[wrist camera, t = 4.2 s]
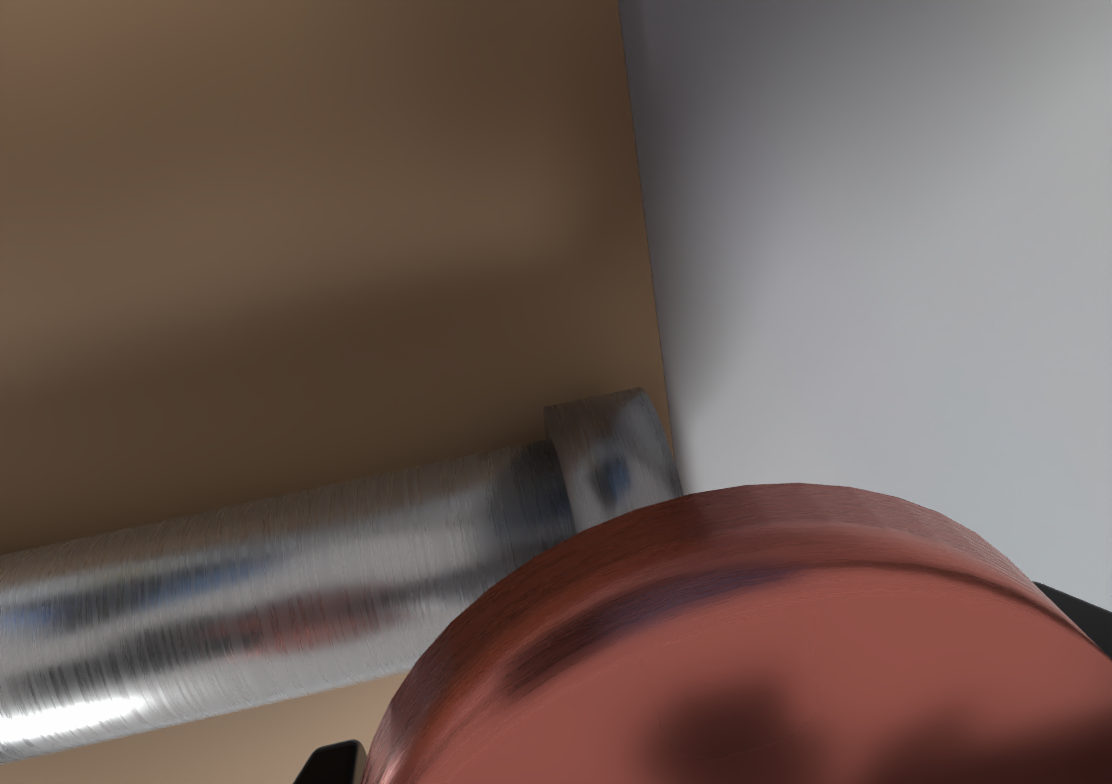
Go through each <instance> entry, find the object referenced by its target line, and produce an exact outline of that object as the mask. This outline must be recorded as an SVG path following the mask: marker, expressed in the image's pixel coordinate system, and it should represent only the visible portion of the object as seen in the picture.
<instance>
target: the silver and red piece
mask: <svg viewBox="0 0 1112 784" xmlns="http://www.w3.org/2000/svg"><path fill="white" fill-rule="evenodd" d="M543 413H544V423H545V431H546V438H547V439H545V440H540V441H536V442H531V443H526V444H521V445H517V446H512V447H507V448H503V449H498V450H493V451H489V452H484V453H479V454H474V455H470V456H465V457H460V458H456V459H451V460H446V461H442V462H437V463H432V464H427V465H423V466H418V467H413V468H409V469H404V470H399V471H395V472H390V473H385V474H381V475H376V476H371V477H366V478H362V479H357V480H352V481H348V482H343V483H338V484H334V485H329V486H324V487H319V488H315V489H310V490H305V491H301V492H296V493H291V494H287V495H282V496H277V497H272V498H268V499H263V500H258V501H254V502H249V503H244V504H240V505H235V506H230V507H225V508H221V509H216V510H211V511H207V512H202V513H197V514H193V515H188V516H183V517H178V518H174V519H169V520H164V521H160V522H155V523H150V524H146V525H141V526H136V527H131V528H127V529H122V530H117V531H113V532H108V533H103V534H99V535H94V536H89V537H84V538H80V539H75V540H70V541H66V542H61V543H56V544H52V545H47V546H42V547H37V548H33V549H28V550H23V551H19V552H14V553H9V554H5V555H0V765H4V764H9V763H13V762H17V761H22V760H26V759H31V758H35V757H39V756H44V755H48V754H53V753H57V752H61V751H66V750H70V749H75V748H79V747H83V746H88V745H92V744H97V743H101V742H105V741H110V740H114V739H119V738H123V737H127V736H132V735H136V734H141V733H145V732H149V731H154V730H158V729H163V728H167V727H171V726H176V725H180V724H185V723H189V722H193V721H198V720H202V719H207V718H211V717H215V716H220V715H224V714H229V713H233V712H237V711H242V710H246V709H251V708H255V707H259V706H264V705H268V704H273V703H277V702H281V701H286V700H290V699H295V698H299V697H303V696H308V695H312V694H317V693H321V692H325V691H330V690H334V689H339V688H343V687H347V686H352V685H356V684H361V683H365V682H369V681H374V680H378V679H383V678H387V677H391V676H396V675H400V674H405V673H409V674H408V675H407V677H406V678H405V680H404V681H403V683H402V684H401V686H400V687H399V689H398V690H397V692H396V693H395V695H394V696H393V698H392V699H391V701H390V703H389V705H388V707H387V709H386V712H385V714H384V716H383V718H382V720H381V722H380V724H379V726H378V729H377V731H376V733H375V735H374V737H373V739H372V742H371V746H370V749H369V752H368V756H367V759H366V763H365V766H364V770H363V773H362V776H361V781H360V784H1112V659H1111V658H1110V657H1109V656H1108V655H1107V654H1106V653H1105V652H1104V651H1103V650H1102V649H1101V648H1099V647H1098V646H1097V645H1096V644H1095V643H1094V642H1093V641H1092V640H1091V639H1090V638H1089V637H1088V636H1087V635H1086V634H1085V633H1084V632H1083V631H1082V630H1081V629H1080V628H1079V627H1078V626H1077V625H1076V624H1075V623H1074V622H1073V621H1072V620H1071V619H1070V618H1069V617H1068V616H1067V615H1066V614H1065V613H1064V612H1063V611H1061V610H1060V609H1059V608H1058V607H1057V606H1056V605H1055V604H1054V603H1053V602H1052V601H1051V600H1050V599H1049V598H1048V597H1047V596H1046V595H1045V594H1044V593H1043V592H1042V591H1041V590H1040V589H1039V588H1038V587H1037V586H1036V585H1035V584H1034V583H1033V582H1032V581H1031V580H1030V579H1029V578H1028V577H1027V576H1026V575H1025V574H1024V573H1022V572H1021V571H1020V570H1019V569H1018V568H1017V567H1016V566H1015V565H1014V564H1013V563H1012V562H1011V561H1010V560H1009V559H1008V558H1007V557H1006V556H1004V555H1003V554H1002V553H1001V552H999V551H998V550H997V549H996V548H994V547H993V546H992V545H991V544H989V543H988V542H987V541H986V540H984V539H983V538H982V537H981V536H979V535H978V534H977V533H975V532H973V531H971V530H970V529H968V528H966V527H964V526H962V525H961V524H959V523H957V522H955V521H953V520H952V519H950V518H948V517H946V516H944V515H943V514H941V513H939V512H936V511H933V510H931V509H928V508H925V507H922V506H920V505H917V504H914V503H912V502H909V501H906V500H904V499H901V498H898V497H894V496H889V495H885V494H880V493H875V492H871V491H866V490H861V489H857V488H852V487H843V486H831V485H819V484H806V483H785V484H762V485H744V486H737V487H731V488H725V489H719V490H712V491H706V492H700V493H694V494H689V495H685V496H684V495H683V492H682V488H681V484H680V480H679V476H678V473H677V470H676V466H675V463H674V459H673V456H672V453H671V450H670V447H669V444H668V441H667V438H666V435H665V432H664V429H663V427H662V424H661V422H660V419H659V416H658V414H657V412H656V410H655V407H654V405H653V403H652V402H651V400H650V398H649V396H648V395H647V393H646V392H645V391H644V390H643V389H642V388H641V387H636V388H631V389H627V390H622V391H617V392H612V393H608V394H603V395H598V396H593V397H589V398H584V399H579V400H574V401H570V402H565V403H560V404H555V405H550V406H546V407H544V409H543Z"/></svg>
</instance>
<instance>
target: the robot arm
mask: <svg viewBox="0 0 1112 784" xmlns="http://www.w3.org/2000/svg"><path fill="white" fill-rule="evenodd" d="M1032 582H1033V581H1032ZM1033 583H1034V584H1035V585H1036V586H1037V587H1038V588H1039V589H1040V590H1041V591H1042V592H1043V593H1044V594H1045V595H1046V596H1047V597H1048V598H1049V599H1050V600H1051V601H1052V602H1053V603H1054V604H1055V605H1056V606H1057V607H1058V608H1059V609H1060V610H1061V611H1063V612H1064V613H1065V614H1066V615H1067V616H1068V617H1069V618H1070V619H1071V620H1072V621H1073V622H1074V623H1075V624H1076V625H1077V626H1078V627H1079V628H1080V629H1081V630H1082V631H1083V632H1084V633H1085V634H1086V635H1087V636H1088V637H1089V638H1090V639H1091V640H1092V641H1093V642H1094V643H1095V644H1096V645H1097V646H1098V647H1099V648H1101V649H1102V650H1103V651H1104V652H1105V653H1106V654H1107V655H1108V656H1109V657H1110V658H1111V659H1112V612H1110V611H1107V610H1105V609H1103V608H1100V607H1098V606H1095V605H1093V604H1090V603H1088V602H1085V601H1083V600H1081V599H1078V598H1076V597H1073V596H1071V595H1068V594H1066V593H1063V592H1061V591H1058V590H1056V589H1054V588H1051V587H1049V586H1046V585H1044V584H1041V583H1038V582H1033ZM366 759H367V754H366V752H365V749H364V747H363V745H362V744H361V742H360V741H358V740H355V739H351V740H347V741H342V742H338V743H334V744H330V745H325V746H321V747H319V748H317V749H316V750H315V751H314V752H313V753H312V754H311V755H310V757H309V758H308V760H307V761H306V763H305V765H304V766H303V768H302V769H301V771H300V772H299V774H298V776H297V777H296V779H295V780H294V782H293V783H292V784H360V781H361V776H362V773H363V770H364V766H365V763H366Z"/></svg>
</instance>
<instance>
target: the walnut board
mask: <svg viewBox="0 0 1112 784" xmlns="http://www.w3.org/2000/svg"><path fill="white" fill-rule="evenodd" d="M636 387H641V388H642V389H643V390H644V391H645V392H646V393H647V395H648V396H649V398H650V400H651V402H652V403H653V405H654V407H655V410H656V412H657V414H658V416H659V419H660V422H661V424H662V427H663V429H664V432H665V435H666V438H667V441H668V444H669V447H670V450H671V453H672V456H673V459H674V452H673V444H672V436H671V428H670V420H669V412H668V404H667V396H666V387H665V379H664V371H663V363H662V355H661V347H660V339H659V331H658V322H657V314H656V306H655V298H654V290H653V282H652V274H651V266H650V257H649V249H648V241H647V233H646V225H645V217H644V209H643V200H642V192H641V184H640V176H639V168H638V160H637V152H636V144H635V135H634V127H633V119H632V111H631V103H630V95H629V87H628V79H627V70H626V62H625V54H624V46H623V38H622V30H621V22H620V14H619V5H618V0H0V555H5V554H9V553H14V552H19V551H23V550H28V549H33V548H37V547H42V546H47V545H52V544H56V543H61V542H66V541H70V540H75V539H80V538H84V537H89V536H94V535H99V534H103V533H108V532H113V531H117V530H122V529H127V528H131V527H136V526H141V525H146V524H150V523H155V522H160V521H164V520H169V519H174V518H178V517H183V516H188V515H193V514H197V513H202V512H207V511H211V510H216V509H221V508H225V507H230V506H235V505H240V504H244V503H249V502H254V501H258V500H263V499H268V498H272V497H277V496H282V495H287V494H291V493H296V492H301V491H305V490H310V489H315V488H319V487H324V486H329V485H334V484H338V483H343V482H348V481H352V480H357V479H362V478H366V477H371V476H376V475H381V474H385V473H390V472H395V471H399V470H404V469H409V468H413V467H418V466H423V465H427V464H432V463H437V462H442V461H446V460H451V459H456V458H460V457H465V456H470V455H474V454H479V453H484V452H489V451H493V450H498V449H503V448H507V447H512V446H517V445H521V444H526V443H531V442H536V441H540V440H545V439H547V438H546V431H545V423H544V413H543V409H544V407H546V406H550V405H555V404H560V403H565V402H570V401H574V400H579V399H584V398H589V397H593V396H598V395H603V394H608V393H612V392H617V391H622V390H627V389H631V388H636ZM674 463H675V461H674ZM408 674H409V673H405V674H400V675H396V676H391V677H387V678H383V679H378V680H374V681H369V682H365V683H361V684H356V685H352V686H347V687H343V688H339V689H334V690H330V691H325V692H321V693H317V694H312V695H308V696H303V697H299V698H295V699H290V700H286V701H281V702H277V703H273V704H268V705H264V706H259V707H255V708H251V709H246V710H242V711H237V712H233V713H229V714H224V715H220V716H215V717H211V718H207V719H202V720H198V721H193V722H189V723H185V724H180V725H176V726H171V727H167V728H163V729H158V730H154V731H149V732H145V733H141V734H136V735H132V736H127V737H123V738H119V739H114V740H110V741H105V742H101V743H97V744H92V745H88V746H83V747H79V748H75V749H70V750H66V751H61V752H57V753H53V754H48V755H44V756H39V757H35V758H31V759H26V760H22V761H17V762H13V763H9V764H4V765H0V784H292V783H293V782H294V780H295V779H296V777H297V776H298V774H299V772H300V771H301V769H302V768H303V766H304V765H305V763H306V761H307V760H308V758H309V757H310V755H311V754H312V753H313V752H314V751H315V750H316V749H317V748H319V747H321V746H325V745H330V744H334V743H338V742H342V741H347V740H351V739H355V740H358V741H360V742H361V744H362V745H363V747H364V749H365V752H366V754H367V756H368V752H369V749H370V746H371V742H372V739H373V737H374V735H375V733H376V731H377V729H378V726H379V724H380V722H381V720H382V718H383V716H384V714H385V712H386V709H387V707H388V705H389V703H390V701H391V699H392V698H393V696H394V695H395V693H396V692H397V690H398V689H399V687H400V686H401V684H402V683H403V681H404V680H405V678H406V677H407V675H408Z"/></svg>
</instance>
